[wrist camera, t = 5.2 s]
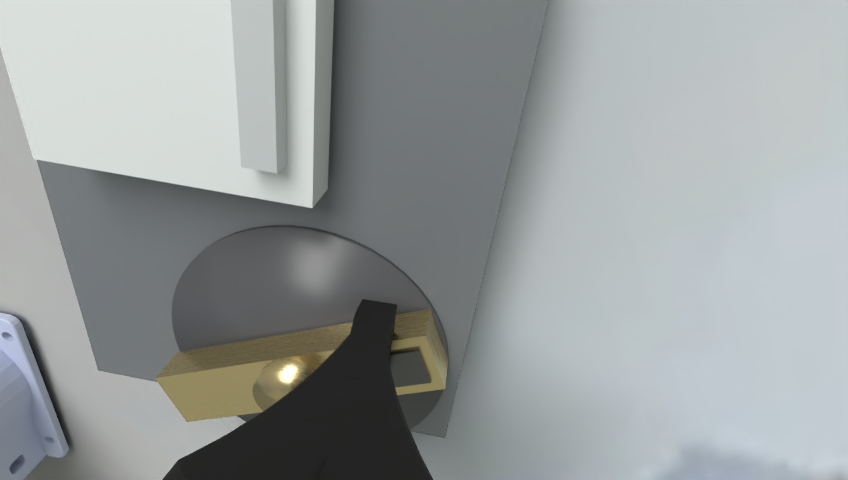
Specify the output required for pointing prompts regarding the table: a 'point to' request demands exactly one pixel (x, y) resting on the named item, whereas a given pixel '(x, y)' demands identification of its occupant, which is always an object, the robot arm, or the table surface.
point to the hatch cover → (178, 90)
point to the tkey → (292, 367)
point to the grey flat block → (323, 204)
